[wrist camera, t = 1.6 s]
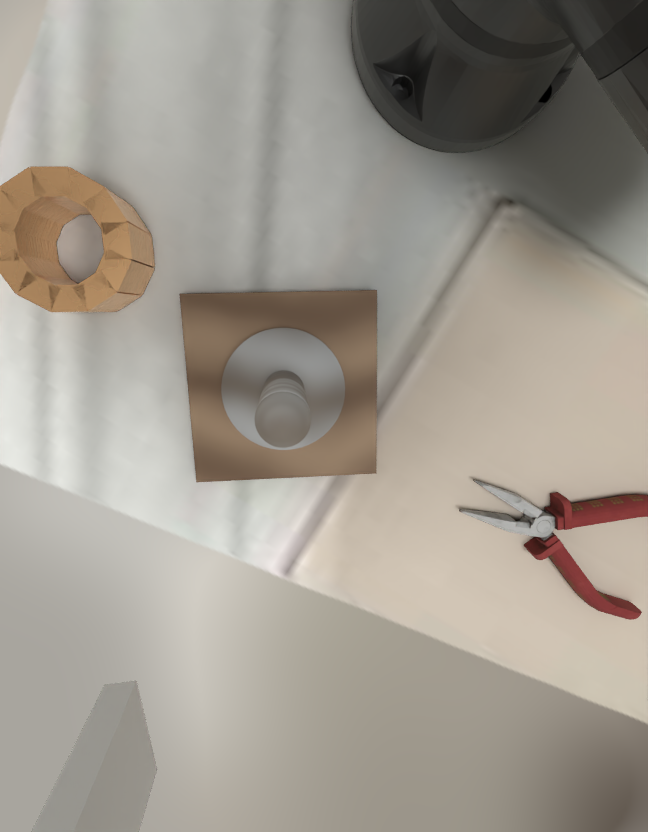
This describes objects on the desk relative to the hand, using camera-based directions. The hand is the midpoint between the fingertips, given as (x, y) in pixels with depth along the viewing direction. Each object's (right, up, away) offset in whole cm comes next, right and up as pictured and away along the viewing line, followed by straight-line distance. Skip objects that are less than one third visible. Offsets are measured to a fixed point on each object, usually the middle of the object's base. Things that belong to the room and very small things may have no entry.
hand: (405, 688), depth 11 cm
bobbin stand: (-5, +9, +24) cm, 26 cm away
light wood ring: (-18, +18, +21) cm, 33 cm away
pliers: (+21, -2, +29) cm, 36 cm away
